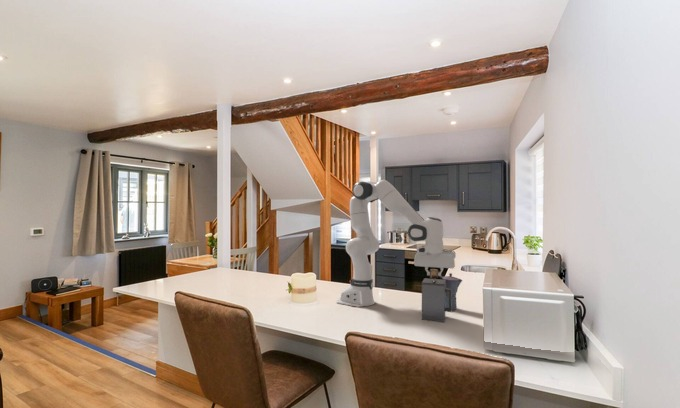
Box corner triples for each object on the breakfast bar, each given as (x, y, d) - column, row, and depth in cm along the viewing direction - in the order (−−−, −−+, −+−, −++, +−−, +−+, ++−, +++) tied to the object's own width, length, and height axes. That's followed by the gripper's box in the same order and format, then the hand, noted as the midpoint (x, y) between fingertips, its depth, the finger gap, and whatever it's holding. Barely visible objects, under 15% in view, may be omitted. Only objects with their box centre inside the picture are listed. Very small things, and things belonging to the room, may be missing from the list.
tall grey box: (421, 320, 178) (421, 282, 178) (423, 313, 188) (424, 278, 188) (450, 323, 173) (451, 284, 173) (451, 316, 183) (451, 280, 184)
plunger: (425, 315, 179) (425, 270, 179) (426, 311, 186) (427, 267, 186) (440, 317, 176) (441, 271, 176) (441, 313, 184) (442, 268, 184)
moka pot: (463, 312, 192) (463, 275, 192) (434, 310, 195) (434, 274, 195) (460, 307, 201) (461, 272, 201) (433, 305, 204) (433, 271, 204)
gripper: (455, 249, 181) (455, 276, 181) (415, 247, 188) (415, 273, 188) (455, 250, 175) (455, 278, 175) (413, 248, 182) (413, 275, 182)
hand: (434, 275), depth 181 cm, fingers closed on plunger, 4 cm apart
